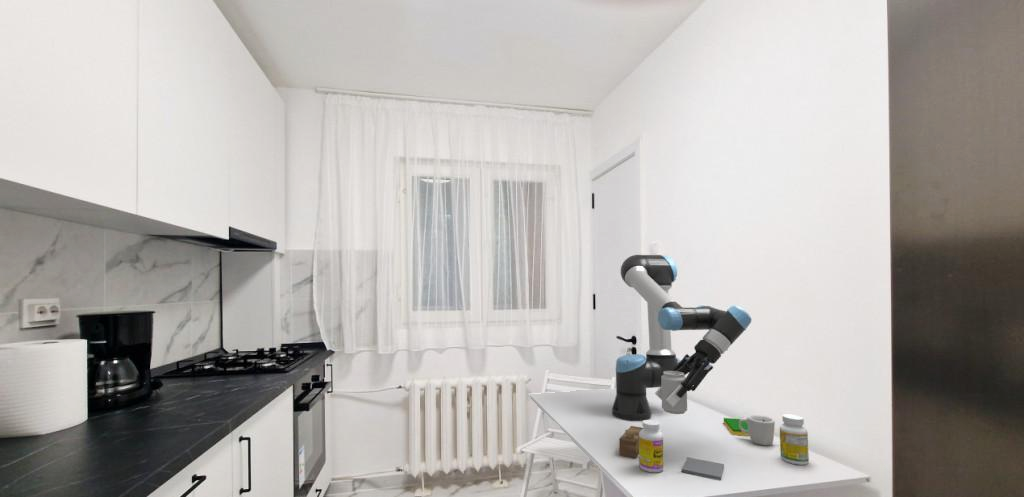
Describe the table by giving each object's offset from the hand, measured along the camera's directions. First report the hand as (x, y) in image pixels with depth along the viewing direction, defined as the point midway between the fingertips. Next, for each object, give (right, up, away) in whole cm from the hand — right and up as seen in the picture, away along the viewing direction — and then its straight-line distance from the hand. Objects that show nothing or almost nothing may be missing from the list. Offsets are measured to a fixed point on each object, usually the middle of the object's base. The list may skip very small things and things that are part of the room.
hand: (663, 399), depth 137 cm
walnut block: (-9, -17, +3) cm, 19 cm away
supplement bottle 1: (-8, -16, -12) cm, 21 cm away
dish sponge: (+35, -19, +22) cm, 46 cm away
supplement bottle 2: (+37, -17, -5) cm, 41 cm away
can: (+3, -4, 0) cm, 5 cm away
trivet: (+7, -16, -12) cm, 21 cm away
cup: (+35, -18, +10) cm, 40 cm away
